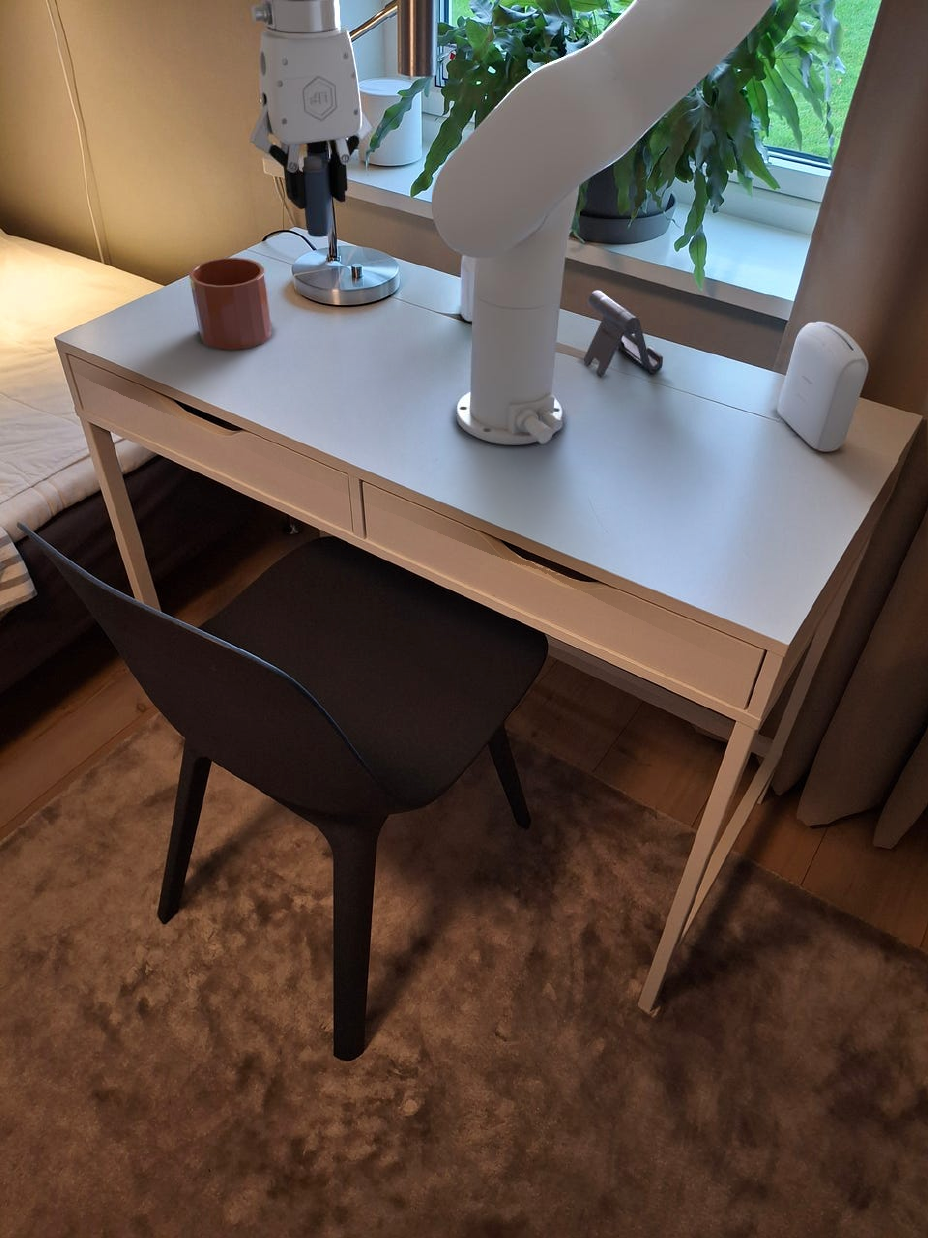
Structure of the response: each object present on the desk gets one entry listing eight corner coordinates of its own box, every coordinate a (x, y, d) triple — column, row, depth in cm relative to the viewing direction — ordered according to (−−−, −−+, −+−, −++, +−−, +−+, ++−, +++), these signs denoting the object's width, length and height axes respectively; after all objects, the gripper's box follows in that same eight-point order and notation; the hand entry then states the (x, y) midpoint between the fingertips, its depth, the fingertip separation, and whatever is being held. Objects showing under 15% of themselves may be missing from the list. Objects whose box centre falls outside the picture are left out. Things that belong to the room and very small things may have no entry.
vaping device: (336, 222, 111) (328, 111, 103) (326, 238, 107) (317, 124, 99) (314, 221, 111) (305, 109, 103) (304, 237, 107) (294, 122, 99)
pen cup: (282, 340, 124) (274, 278, 118) (214, 355, 120) (203, 292, 114) (257, 313, 130) (248, 252, 124) (191, 327, 126) (180, 265, 120)
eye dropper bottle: (450, 318, 129) (451, 231, 121) (466, 303, 133) (468, 217, 125) (479, 324, 128) (482, 237, 120) (494, 309, 132) (498, 223, 124)
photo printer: (770, 410, 113) (797, 313, 105) (801, 406, 114) (830, 310, 105) (813, 455, 106) (846, 355, 97) (847, 451, 106) (882, 351, 98)
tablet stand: (662, 372, 119) (673, 310, 114) (610, 384, 117) (619, 321, 111) (625, 344, 125) (634, 283, 120) (575, 354, 123) (581, 293, 117)
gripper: (236, 28, 89) (260, 224, 101) (392, 15, 95) (397, 200, 107) (210, 14, 93) (237, 203, 106) (361, 2, 100) (369, 181, 112)
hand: (318, 200), depth 106 cm, fingers closed on vaping device, 4 cm apart
